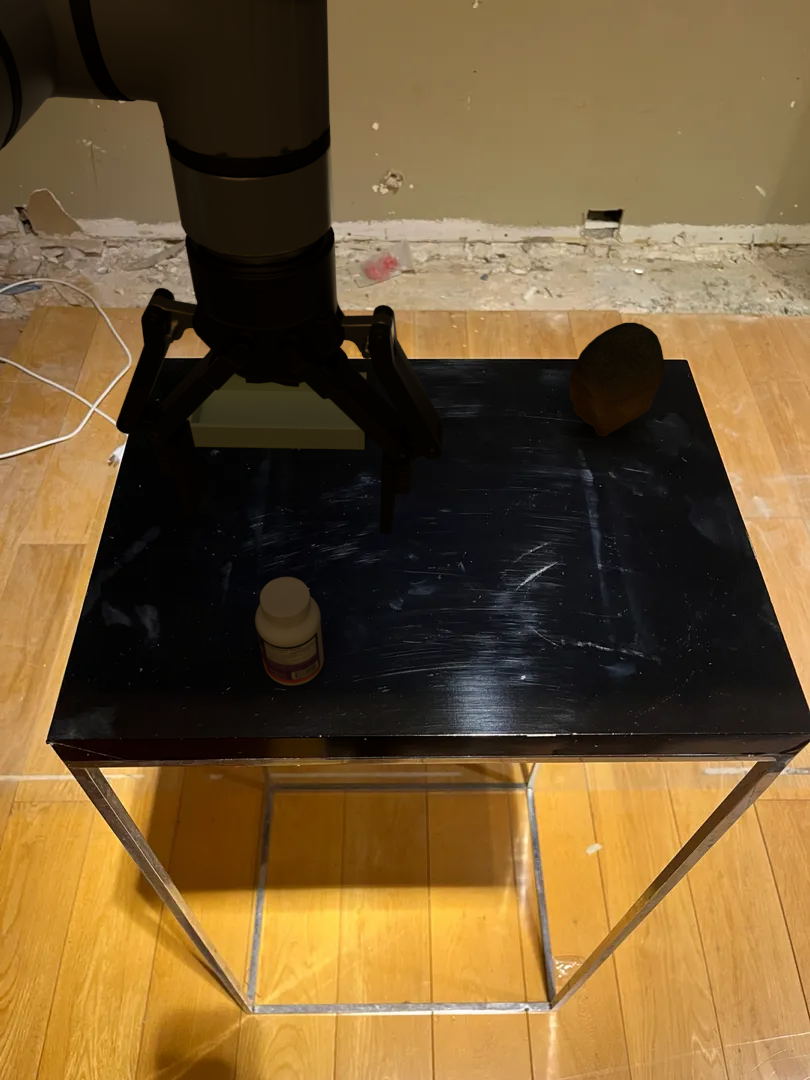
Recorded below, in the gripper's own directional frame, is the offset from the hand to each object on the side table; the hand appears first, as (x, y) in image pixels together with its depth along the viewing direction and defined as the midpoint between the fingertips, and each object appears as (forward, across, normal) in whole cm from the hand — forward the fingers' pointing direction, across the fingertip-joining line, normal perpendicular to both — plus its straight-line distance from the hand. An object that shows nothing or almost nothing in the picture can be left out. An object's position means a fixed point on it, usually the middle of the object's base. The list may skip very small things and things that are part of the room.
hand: (290, 511), depth 58 cm
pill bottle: (+20, +1, 0) cm, 20 cm away
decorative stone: (+20, -28, -33) cm, 48 cm away
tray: (+20, +8, -32) cm, 38 cm away
